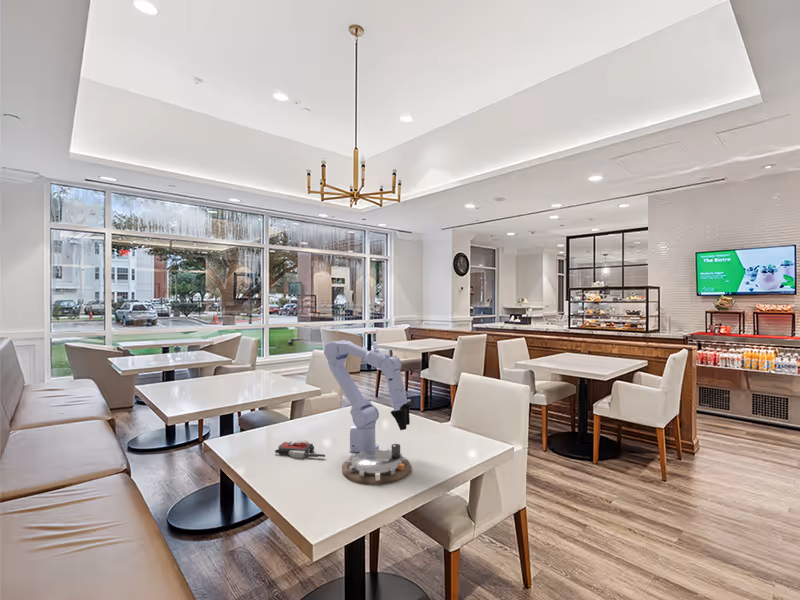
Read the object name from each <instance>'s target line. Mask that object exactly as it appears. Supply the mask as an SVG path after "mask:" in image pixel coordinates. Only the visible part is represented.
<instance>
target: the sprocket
mask: <svg viewBox="0 0 800 600" xmlns="http://www.w3.org/2000/svg"><path fill="white" fill-rule="evenodd" d="M402 457H403V454H402V453H401V444H400V443H393V444H391V449H388V448H387V449H386V450H379V449H378V448H376V449H373V451H367V452H365V451H364V450H363V451H360V452H359V453H357V454H351V455H349V458H350V460H348V459H346V460H347V467H349V471H350V472H351V473H352V472H358V473H359V476H362V477H364V476H365V475H375V473H380V475H385V474H390V475H395V471H397V470H404V469H405V464H406V459H407V458H406V457H404V458H402Z"/></svg>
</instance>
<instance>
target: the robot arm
mask: <svg viewBox="0 0 800 600" xmlns="http://www.w3.org/2000/svg"><path fill="white" fill-rule="evenodd" d="M323 350H324V351H323V354H324V356H325V358H326V359H327V363H328V368H329V370H330V372H331V373H332V376H333V377H334V379H335V380H336V382H337V384H338V385H339V386H340V389H341V390H342V392H343V394H344V395H345V397H346V399H347V401H348V402H349V404H350V405H351V409H350V410H349V413H350V416H351V418H352V422H353V424H352V425H351V427H350V431H349V452H351V453H352V452H353V453H360V451H363V450H364V451H365V452H367V451H373V449H378V447H379V444H378V443H376V424H377V421H378V419H379V417H380V414H379V413H380V412H379V409H378V408H377V407H376V406H375V405H373V404H372V402H371V401H370V400H368V399H366V398H364V395H363V394H362V392H361V391H360V389H359V388H358V386H357V385H356V383H355V381H354V379H353V378H352V376H351V374H350V373H349V371H348V370H347V368H346V366H345V363H346V361H347V359H348V357H349V355H353V356H355V357H359V358H360V359H364V360H365V361H366V364H368V365H370V366H371V367H375V368H377V369H379V370H380V371H381V372H382V374H383V375H384V378H385V380H386V383H387V384H386V385H387V389H388V393H389V396H390V401H391V403H390V404H391V405H390V406H392V407H393V410H391V411H390V415H391V416H392V417H393V418H394V419H395V421H396V423H397V424H396V425H397V426H398V429H399V430H400V431H403V430H407V426H409V425H410V422H411V420H410V412H411V411H410V410H411V403H410V402H411V401H412V400H411V399H410V398H409V399H408V398H407V394H406V389H405V386H404V382H403V381H404V379H403V376H402V372H401V368H402V361H401V359H400V358H399V357H397V356H396V355H392V356H390V354H388V353H383V352H380V350H379V349H377V348H375V349H371V350H367V349H366V348H364V347H362V346H360V345H358V344H356V343H353V342H352V341H349V340H347V339H342V340H336V341H328V342H327V343H326V344H325V346H324V349H323Z"/></svg>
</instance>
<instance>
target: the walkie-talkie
mask: <svg viewBox="0 0 800 600" xmlns="http://www.w3.org/2000/svg"><path fill="white" fill-rule="evenodd" d="M277 448H278V449H276V450H274V453H275V454H278V453H279V454H286V455H285V456H290V457H291V458H295V459H296V458H297V459H298V458H299V459H304V458H305V457H306V458H308V457H310V458H318V457H321V458H322V457H323V458H325V457H326V454H321V453H312V452H314V451H315V446H314V444H313V443H309V441H307V440H296V441H295V442H293V441H292V440H290V441H288V442H287V441H284V442H282V443H281V444H280V445H278V447H277ZM311 451H312V452H311ZM310 452H311V453H310ZM309 453H310V454H309ZM279 454H278V455H279Z"/></svg>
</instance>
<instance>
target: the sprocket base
mask: <svg viewBox="0 0 800 600" xmlns="http://www.w3.org/2000/svg"><path fill="white" fill-rule="evenodd" d="M402 458H405V457H404V456H402ZM347 460H350V457H349V458H348V459H346V460H345V461H344V462H343V463H342V465H341V472H342V475H343V476H344V477H345V478H346V479H347V480H349V481H351V482H353V483H356V484H363V485H371V484H372V486H375V485H374V484H378V485H385V484H386V485H387V484H391V483H395V481H396V482H398V481H400V480H402V479H405V478H406V477H407V476H409V474H410V473H411V471H412V470H411V469H412V468H411V462H410V461H409V459H407V458H406V464H405V469H404V470H397V471H395V475H390V474H385V475H380V473H375V475H365V476H364V477H362V476H359V473H358V472H352V473H351V472H350V471H349V467H347Z"/></svg>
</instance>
